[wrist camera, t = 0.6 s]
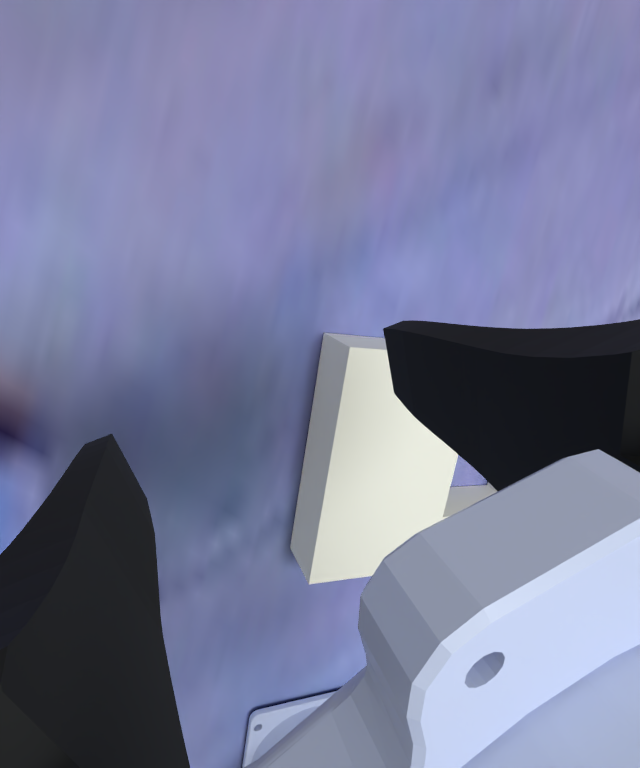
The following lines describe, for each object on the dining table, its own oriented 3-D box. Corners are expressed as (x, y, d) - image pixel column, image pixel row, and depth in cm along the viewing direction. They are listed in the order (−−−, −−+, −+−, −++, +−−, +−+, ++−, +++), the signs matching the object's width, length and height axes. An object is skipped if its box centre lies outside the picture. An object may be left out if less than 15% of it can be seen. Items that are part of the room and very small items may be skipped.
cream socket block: (554, 520, 34) (591, 546, 31) (289, 547, 26) (308, 584, 24) (607, 357, 31) (652, 370, 28) (323, 332, 23) (349, 347, 20)
